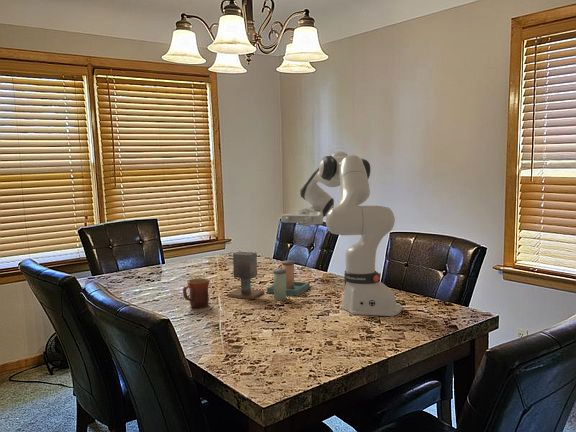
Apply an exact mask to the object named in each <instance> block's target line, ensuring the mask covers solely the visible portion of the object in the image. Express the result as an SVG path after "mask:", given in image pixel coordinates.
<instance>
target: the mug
mask: <svg viewBox="0 0 576 432" xmlns="http://www.w3.org/2000/svg"><path fill="white" fill-rule="evenodd" d="M210 282H211V281H210V279H209V278H205V277H203V278H202V277H198V278H197V277H196V278H191V279H188V280H187V285H184V287H183V289H182V294H183V298H184V299H185V300H186V301H189V304H190V307H191V308H193V309H203V308H207V306H208V305H209V302H210V297H209V294H210V293H209V286H210ZM187 290H189V297H188V293H187Z"/></svg>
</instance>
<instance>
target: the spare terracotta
mask: <svg viewBox="0 0 576 432" xmlns="http://www.w3.org/2000/svg"><path fill="white" fill-rule="evenodd" d="M281 265H282V266H281V267H282V268H281V269H285V270H286V289H292V290H293V289H294V281H295V261H294V260H291V259H289V260H287V259H286V260H282V261H281Z"/></svg>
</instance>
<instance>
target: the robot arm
mask: <svg viewBox="0 0 576 432" xmlns="http://www.w3.org/2000/svg"><path fill="white" fill-rule="evenodd" d="M318 166H319V167H318V168H316V169H315V171H314V172H313V173H312V174H311V176H310V177H309V179H307V181H306V183H305V184H303V186H301V188H300V193H299V194H300V198H302V200H305V201H306V202H307V203H309V204H310V205H311V206H309V207H305V208H301V209H299V211H298V212H297V213H284V214H281V215H280V220H281V223H293V224H294V223H296V224H297V223H299V225H301V226H304V227H310V226H313V225H323V224H324V218H325V226H326V228H327V229H328V231H329V232H330V233H331V234H333V235H339V236H361V237H360V239H359V240H358V241H357V242H356V243H354V244H352V245H350V246H349V247H348V248H347V249H346V251H345V270H344V273H343V274H344V285H345V286H344V294H343V301H342V303H341V308H342V309H343V310H345V311H347V312H349V314H350V315H363V316H380V317H381V316H382V317H393V316H397V315H399V314H400V313H402V310H403V307H402V304H401V303H398V302H397V300H396V296H395V293H394V291H393V290H392V289H391V288H390V287H388V286H387V285H385V283H384V282H382V281H381V274H382V273H381V272H378V271H376V256H377V255H376V254H377V250H378V246H379V244H380V243H381V241H382V239H383V238H384V237H385V236H386V235H387V234H389V233H390V232H391V231H392V230H393V228H394V226H395V220H396V219H395V218H396V217H395V215H394V212H393V210H392V209H391V208H390V207H386V206H383V205H362V204H364V203H365V202H366V201H367V200H368V199H369V197H370V194H371V188H370V183H369V179H370V176H371V169H372V168H371V163H370V162H369V160H367V159H364V158H360V157H359V156H358V155H354V154H351V155H348V154H347V153H346V152H344V151H339V150H338V151H335V152H334V153H332V154H331V155H326V156H323V158H321V160H320V163H319V165H318ZM318 183H320V184H322V185H324V186H326V187H328V188H336V187H337V188H338V187H340V199H339V201H338V202H337V204H335V200H334V197H332V196H331V195H330V194H329V193H328V192H326V191H325V190H324V189H323V188H322V187H320V186H319V185H318Z"/></svg>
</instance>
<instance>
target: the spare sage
mask: <svg viewBox="0 0 576 432" xmlns="http://www.w3.org/2000/svg"><path fill="white" fill-rule="evenodd" d="M272 272H273V284H274V294H273V299H274V301H285V300H287V295H286V270H285V269H283V268H276V269H273V271H272ZM284 299H285V300H284Z"/></svg>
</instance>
